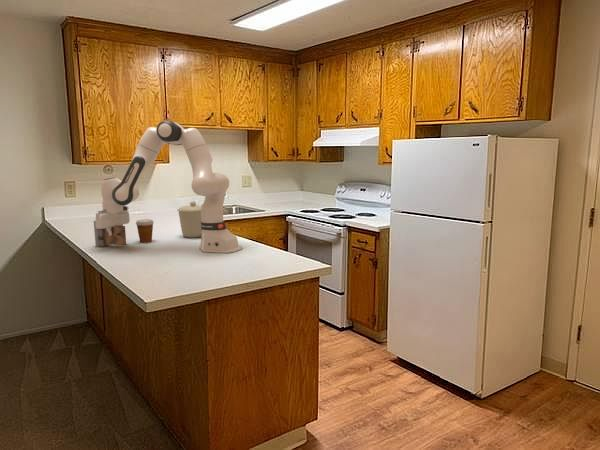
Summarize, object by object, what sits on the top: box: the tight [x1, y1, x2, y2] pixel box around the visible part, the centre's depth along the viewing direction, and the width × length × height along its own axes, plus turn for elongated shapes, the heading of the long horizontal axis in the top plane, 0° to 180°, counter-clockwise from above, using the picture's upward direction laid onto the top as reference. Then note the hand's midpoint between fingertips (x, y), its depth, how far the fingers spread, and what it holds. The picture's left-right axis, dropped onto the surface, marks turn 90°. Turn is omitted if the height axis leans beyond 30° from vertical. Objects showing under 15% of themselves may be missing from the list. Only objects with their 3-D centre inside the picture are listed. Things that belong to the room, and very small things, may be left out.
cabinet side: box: [93, 220, 124, 248], centre depth 246 cm, size 5×18×14 cm, turn 157°
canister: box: [177, 200, 202, 239], centre depth 266 cm, size 18×18×21 cm
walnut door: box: [102, 225, 127, 247], centre depth 237 cm, size 14×4×10 cm, turn 67°
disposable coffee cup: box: [135, 218, 154, 244], centre depth 252 cm, size 10×10×12 cm
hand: (113, 234), depth 237 cm, fingers closed on walnut door, 2 cm apart
